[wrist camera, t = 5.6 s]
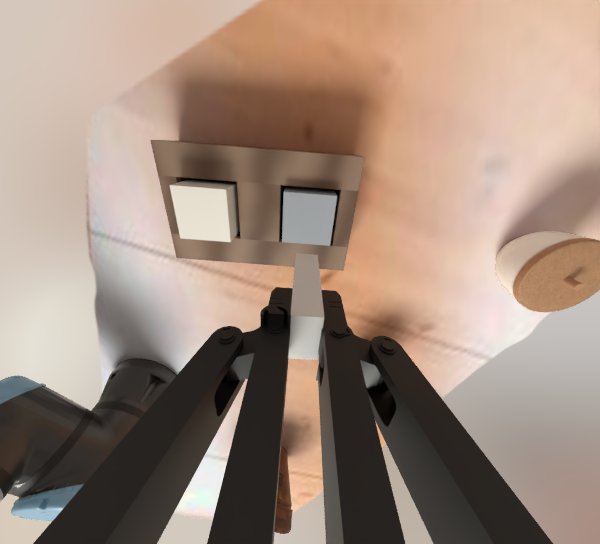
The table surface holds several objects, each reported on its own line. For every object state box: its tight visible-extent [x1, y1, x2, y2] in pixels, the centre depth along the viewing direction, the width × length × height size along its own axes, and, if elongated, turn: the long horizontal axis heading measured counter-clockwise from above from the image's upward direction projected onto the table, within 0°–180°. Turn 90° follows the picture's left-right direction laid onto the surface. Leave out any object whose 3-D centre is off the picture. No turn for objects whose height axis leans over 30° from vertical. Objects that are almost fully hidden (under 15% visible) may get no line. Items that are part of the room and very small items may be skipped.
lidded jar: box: [495, 231, 600, 312], centre depth 31 cm, size 11×11×9 cm
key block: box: [151, 140, 365, 271], centre depth 30 cm, size 23×14×6 cm, turn 86°
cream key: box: [170, 180, 240, 242], centre depth 27 cm, size 6×6×4 cm
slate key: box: [282, 186, 337, 246], centre depth 28 cm, size 6×6×4 cm
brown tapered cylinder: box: [274, 447, 292, 534], centre depth 63 cm, size 18×20×18 cm
